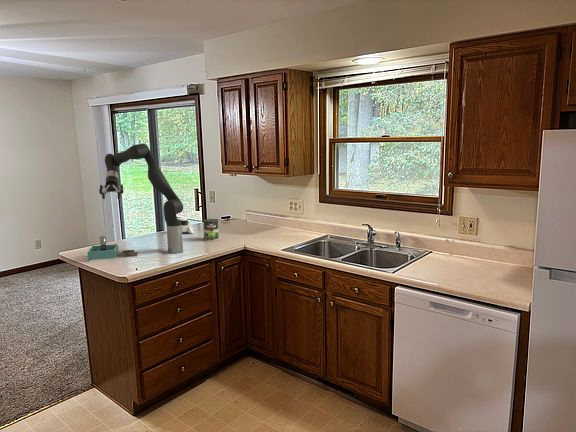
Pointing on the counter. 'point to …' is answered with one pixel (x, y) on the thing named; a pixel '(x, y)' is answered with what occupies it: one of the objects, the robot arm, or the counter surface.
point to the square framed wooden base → (127, 253)
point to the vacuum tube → (103, 243)
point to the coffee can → (211, 229)
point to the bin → (103, 252)
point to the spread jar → (186, 226)
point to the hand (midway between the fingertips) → (111, 198)
